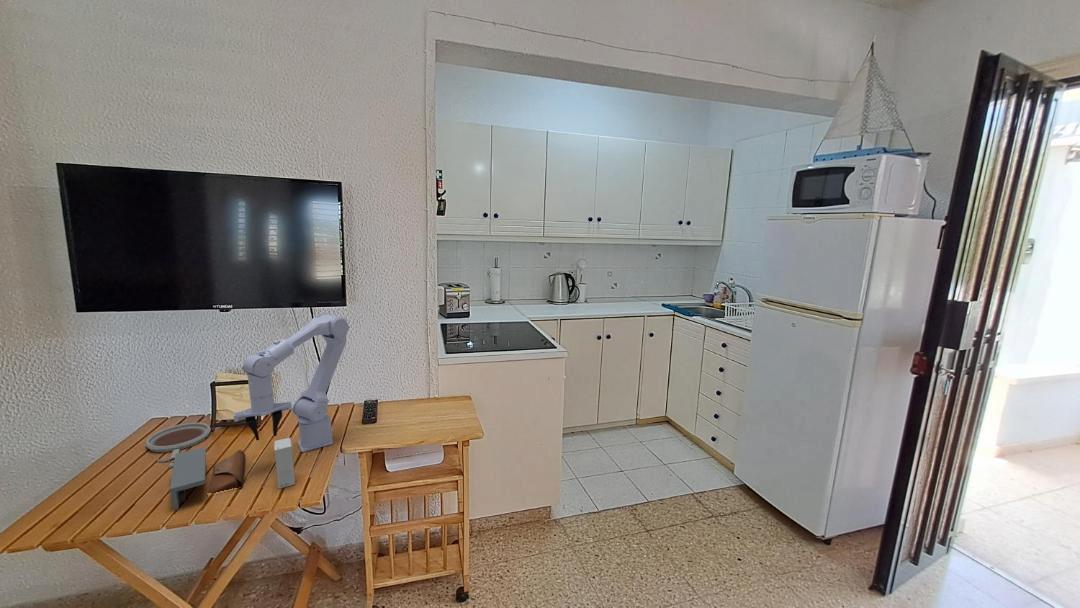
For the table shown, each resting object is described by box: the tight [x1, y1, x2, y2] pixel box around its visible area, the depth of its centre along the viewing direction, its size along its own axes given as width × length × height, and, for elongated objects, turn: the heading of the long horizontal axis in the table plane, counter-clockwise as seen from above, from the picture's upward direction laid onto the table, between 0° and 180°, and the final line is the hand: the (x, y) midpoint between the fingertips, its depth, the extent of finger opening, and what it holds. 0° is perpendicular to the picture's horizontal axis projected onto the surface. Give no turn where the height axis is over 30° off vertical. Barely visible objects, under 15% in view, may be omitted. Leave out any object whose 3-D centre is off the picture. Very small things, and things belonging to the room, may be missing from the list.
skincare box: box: [273, 437, 296, 490], centre depth 123 cm, size 6×4×12 cm
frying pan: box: [144, 422, 212, 469], centre depth 140 cm, size 17×3×28 cm
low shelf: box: [169, 446, 207, 511], centre depth 120 cm, size 7×20×6 cm, turn 37°
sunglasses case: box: [206, 449, 246, 494], centre depth 126 cm, size 18×7×7 cm, turn 33°
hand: (266, 436), depth 130 cm, fingers open, 4 cm apart
